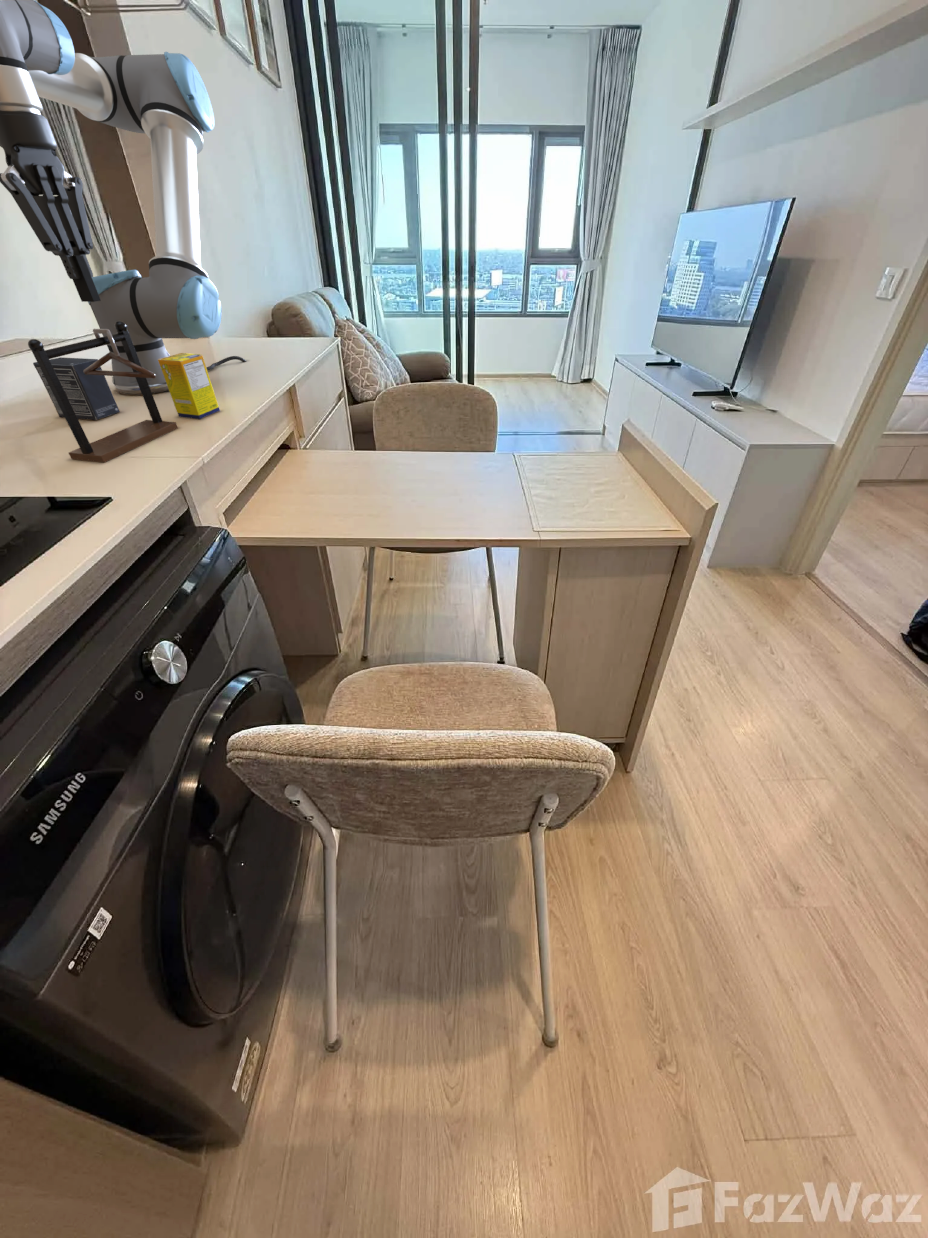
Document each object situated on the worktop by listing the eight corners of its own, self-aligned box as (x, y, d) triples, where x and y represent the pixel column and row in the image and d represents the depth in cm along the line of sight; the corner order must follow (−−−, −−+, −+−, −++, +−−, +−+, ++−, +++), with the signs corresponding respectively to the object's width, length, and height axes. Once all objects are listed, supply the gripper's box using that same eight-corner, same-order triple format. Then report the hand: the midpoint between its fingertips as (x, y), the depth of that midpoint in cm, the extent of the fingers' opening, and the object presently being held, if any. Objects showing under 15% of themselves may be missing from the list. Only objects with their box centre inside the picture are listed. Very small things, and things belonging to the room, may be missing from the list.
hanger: (87, 373, 92) (66, 327, 87) (157, 377, 88) (139, 329, 83) (83, 375, 91) (62, 328, 86) (154, 379, 87) (135, 330, 83)
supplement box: (199, 408, 109) (180, 352, 102) (220, 411, 107) (203, 353, 100) (177, 416, 105) (156, 358, 98) (200, 419, 103) (180, 360, 96)
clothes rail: (149, 425, 101) (106, 319, 89) (178, 428, 99) (139, 320, 88) (71, 459, 87) (9, 339, 76) (103, 462, 85) (45, 340, 74)
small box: (122, 411, 108) (99, 357, 102) (97, 421, 103) (71, 365, 97) (85, 408, 111) (60, 355, 104) (58, 417, 106) (30, 362, 100)
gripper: (35, 120, 80) (104, 296, 95) (-50, 107, 70) (41, 305, 85) (72, 116, 78) (136, 296, 93) (-10, 103, 69) (76, 306, 83)
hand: (91, 300), depth 89 cm, fingers closed
